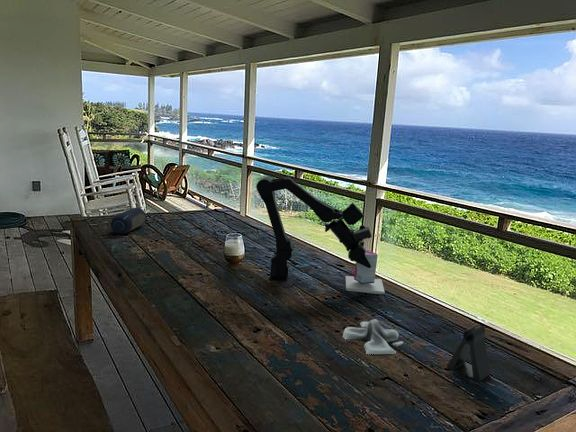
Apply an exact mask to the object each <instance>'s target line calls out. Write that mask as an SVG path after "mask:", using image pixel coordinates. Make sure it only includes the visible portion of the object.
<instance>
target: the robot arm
mask: <svg viewBox="0 0 576 432" xmlns="http://www.w3.org/2000/svg"><path fill="white" fill-rule="evenodd" d="M255 187H256V188H255V189H256V191H257V192H258V195H259V197H260V199H261V200H262V201H263V203H264V205H265V208H266V211H267V216H268V218H269V221H270V225H271V227H272V230H273V233H274V234H273V235H274V237H275V248H276V249H275V250H276V251H275V252H274V253H273V255H272V257H271V259H270V272H269V273H270V276H269V280H275V281H276V280H277V281H287V279H288V278H289V270H290V266H289V264H288V263H289V262H288V261H290V260H291V259H292V256H293V255H294V250H295V247H296V246H295V245H294V243H293V237H288V236H287V235H286V231H285V229H284V224H283V221H282V218H281V215H280V211H279V208H278V205H277V202H276V191H283V190H287V191H288V192H289V193H291V194H293V196H294V197H296V198H298V199H299V200H300V201H301V202H302V203H303V204H305V205H306V206H308V207H309V208H310V209H311V210H312V211H313V213H314V214H315V215H316V216H317V217H318V218H319V220H320V221H321V222H323V223H324V227H325V228H324V232H325V233H326V232H329V231H331V232H332V233H333V234H334V236H335V237H336V238H337V239H338V241H339V243H340V244H342V245H343V246H344V247H345V250H346V252H348V255H347V257H348V259H349V261H350V262H355V263H356V262H357V263H359V264H361V265H363V266H365V267H367V268H371V265H370V263H369V261H368V260H367V258H366V256H365V251H366V248H364V246H365V242H364V240H367V239H370V238H372V237H373V236H372V233H371V230H370V227H369V226H365V225H364V224H363V225H362V224H361V225H359V228H358V229H357V230H355V231H354V230H353V229H351V228H350V227H349V226H355V224H357V223H358V222H360V221H361V220H363V218H365V214H364V213H363V212H362V210H361V209H360V208H359V207H358V206H357V205H356V204H355V203H354V202H351V203H350V204H349V205H348V206H347V207H345V208H344V209H343V210H341V209H337V208H334V207H333V206H332V205H330V204H329V203H326V202H325V201H323V200H320V199H318V198H317V197H315V196H314V195H312V194H311V193H310V192H309V191H307V190H306V189H305V188H303V186H301V185H299V184H298V183H297V182H296V181H294V180H293V178H291V177H285V178H284V177H282V178H281V177H280V178H272V179H271V178H270V177H267V176H266V177H263V178H261V179H260V180H259V181H258V182H257V183H256V186H255Z"/></svg>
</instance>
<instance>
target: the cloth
mask: <svg viewBox="0 0 576 432" xmlns="http://www.w3.org/2000/svg"><path fill="white" fill-rule="evenodd" d="M359 325H360V327H354V326H348V327H345V328H344V330H343V333H342V339H343V338H344V339H345V340H344V339H343V340H344V341H347V340H346V339H349V340H361V339H363V341H366V342H365V343H364V345H363V349H364V350H365V351H366V353H365V354H366V355H367V354H368V355H369V354H370V355H369V356H372V355H373V354H374V355H394V354H397V353H396V352H397V351H396V350H395V349H393V348H392V347H391V346H390V345H389V343H390V341H391V342H392V345H393V346H395V347H399V346H401V345H403V344H404V341H402V340H401V341H397V340H398V339H399V335H400V334H399V332H398V331H397V330H395V329H393V328H392V329H387V328H384V327H383V326H382V325H381V324H380V322H379V321H378V319H377V318H375V319H371V320H369V321H361V322H360V323H359ZM364 339H365V340H364ZM369 340H370V341H369ZM371 354H372V355H371Z"/></svg>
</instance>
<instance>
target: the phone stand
mask: <svg viewBox="0 0 576 432" xmlns="http://www.w3.org/2000/svg"><path fill="white" fill-rule="evenodd" d="M479 326H480V327H479ZM485 334H486V328H485V327H484V326H483V325H479V324H475V325H473V326H472V327H469V328H468V329H466V330H465V331H464V332H463V334H462V340H461V342H460V344H459V345H458V346H457V349H455V352H454V354H453V355H452V357H451V359H450V360H449V361H448V363H447V365H446V368H447V369H449V370H452V371H454V372H456V373H458V374H461V375H463V376H464V375H465V377H467V378H469V379H470V380H471V379H472V380H474V381H475V382H477V381H478V382H477V383H480V382H481V381H483V380H485V379H486V378H487V377H488V376H490V375H491V373H492V372H491V368H490V362H489V355H488V352H487V347H486V341H485ZM469 353H470V359H471V363H470V364H469V363H468V362H466V359H467V356H468V355H469Z"/></svg>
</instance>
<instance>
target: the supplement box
mask: <svg viewBox="0 0 576 432" xmlns="http://www.w3.org/2000/svg"><path fill="white" fill-rule="evenodd" d="M365 256H366V258H367V260H368V261H369V263H370V265H371V268H367V267H365V266H363V265H361V264H359V263H357V262H355V268H354V276H353V277H354V280H356V281H358V282H359V283H361V284H369V283H374V280H375V279H376V270H377V265H378V256H379V254H377V253H376V252H374V251H372V250H366V249H365Z"/></svg>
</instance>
